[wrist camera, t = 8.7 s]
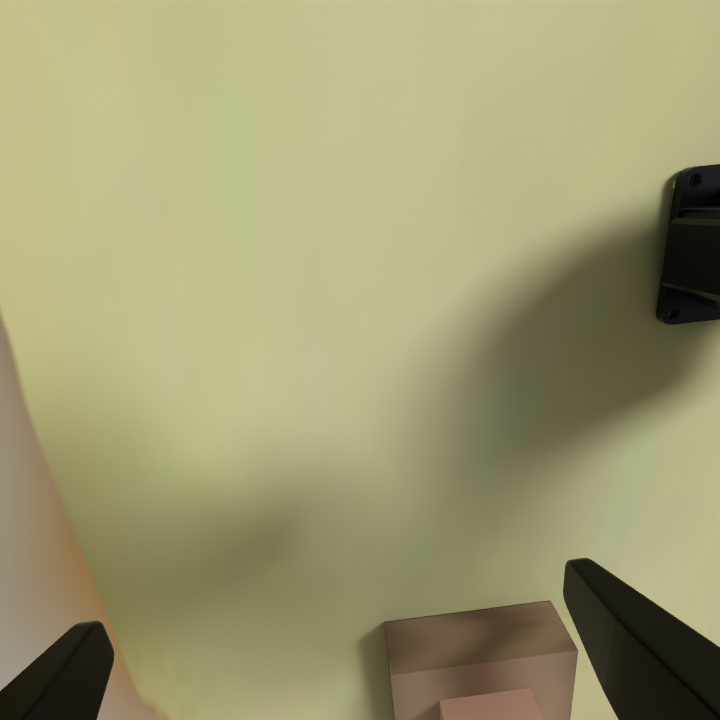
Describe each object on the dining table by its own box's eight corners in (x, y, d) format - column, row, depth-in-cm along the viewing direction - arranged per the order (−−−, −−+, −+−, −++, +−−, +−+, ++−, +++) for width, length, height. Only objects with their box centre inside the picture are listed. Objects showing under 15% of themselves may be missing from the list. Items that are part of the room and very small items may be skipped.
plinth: (550, 600, 25) (577, 650, 22) (542, 710, 29) (564, 764, 26) (383, 622, 25) (390, 675, 22) (395, 730, 28) (402, 787, 26)
